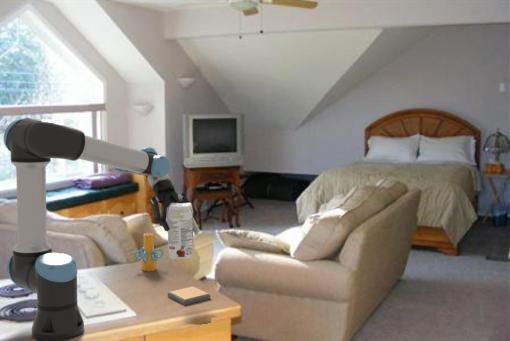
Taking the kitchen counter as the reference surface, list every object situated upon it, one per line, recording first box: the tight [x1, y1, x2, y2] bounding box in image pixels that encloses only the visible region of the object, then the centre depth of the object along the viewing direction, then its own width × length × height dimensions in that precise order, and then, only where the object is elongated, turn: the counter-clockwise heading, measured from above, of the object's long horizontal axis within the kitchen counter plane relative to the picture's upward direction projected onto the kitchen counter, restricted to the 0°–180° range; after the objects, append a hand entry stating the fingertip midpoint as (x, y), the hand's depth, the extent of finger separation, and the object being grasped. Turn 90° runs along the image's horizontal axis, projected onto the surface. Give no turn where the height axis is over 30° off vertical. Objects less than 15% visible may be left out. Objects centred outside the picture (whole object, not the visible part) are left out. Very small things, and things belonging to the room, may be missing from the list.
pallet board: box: [167, 286, 211, 306], centre depth 214 cm, size 11×11×2 cm
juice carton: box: [167, 202, 194, 260], centre depth 209 cm, size 8×9×19 cm
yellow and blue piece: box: [133, 232, 164, 272], centre depth 246 cm, size 12×10×15 cm
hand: (185, 235), depth 207 cm, fingers closed on juice carton, 9 cm apart
